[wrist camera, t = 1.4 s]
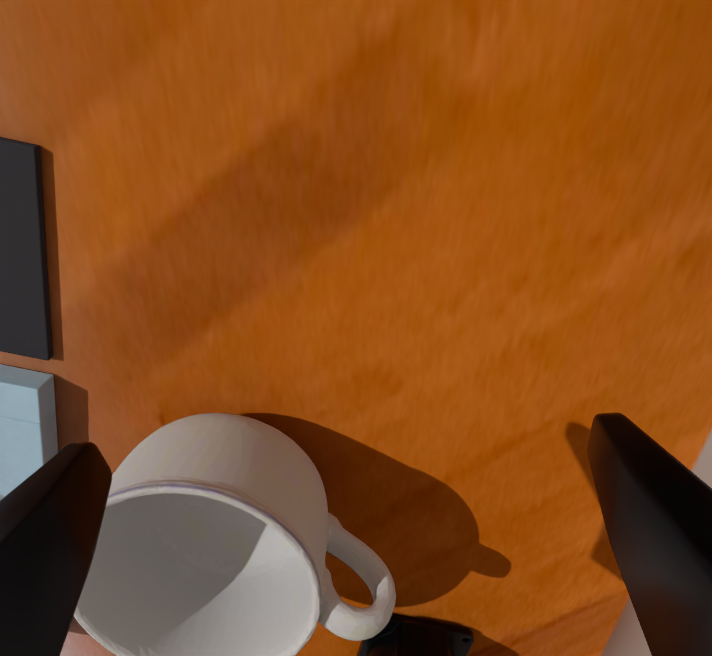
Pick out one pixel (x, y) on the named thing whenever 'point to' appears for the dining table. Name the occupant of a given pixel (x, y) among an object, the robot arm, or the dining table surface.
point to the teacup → (223, 548)
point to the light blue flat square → (25, 424)
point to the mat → (23, 253)
